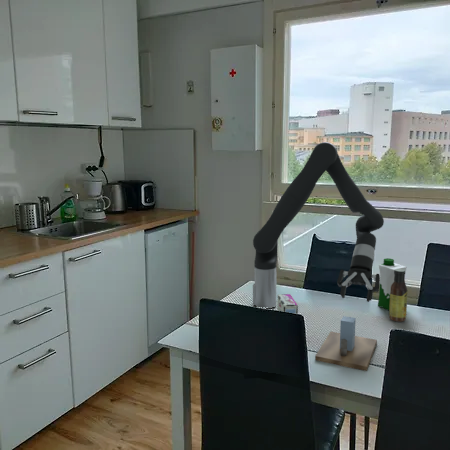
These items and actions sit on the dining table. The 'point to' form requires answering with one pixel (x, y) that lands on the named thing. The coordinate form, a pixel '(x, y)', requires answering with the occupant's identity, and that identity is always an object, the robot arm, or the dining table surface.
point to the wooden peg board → (347, 352)
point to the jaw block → (348, 331)
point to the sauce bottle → (398, 297)
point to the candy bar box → (287, 304)
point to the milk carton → (387, 281)
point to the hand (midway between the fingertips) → (355, 299)
